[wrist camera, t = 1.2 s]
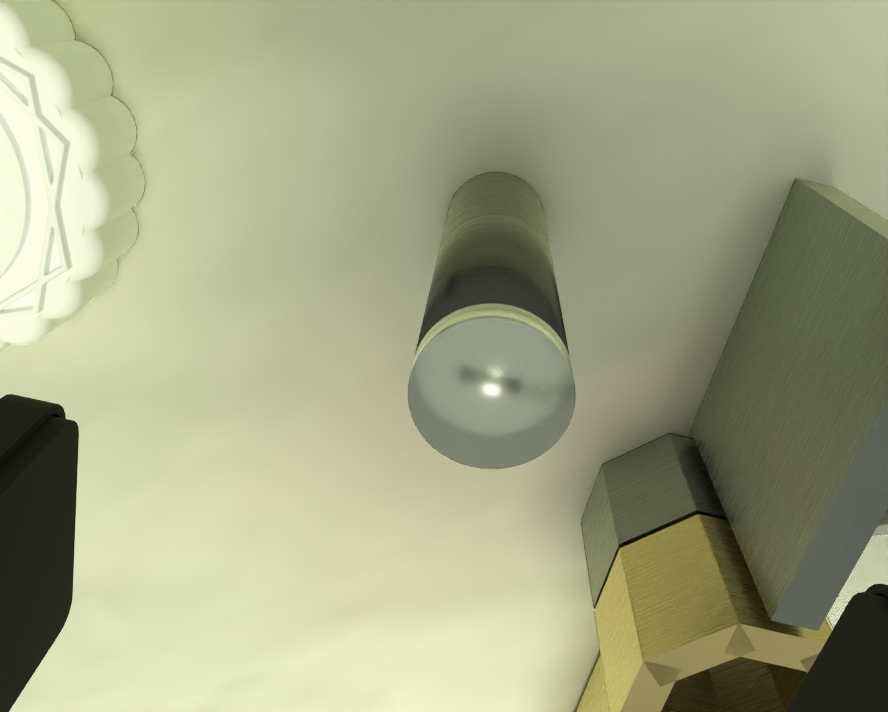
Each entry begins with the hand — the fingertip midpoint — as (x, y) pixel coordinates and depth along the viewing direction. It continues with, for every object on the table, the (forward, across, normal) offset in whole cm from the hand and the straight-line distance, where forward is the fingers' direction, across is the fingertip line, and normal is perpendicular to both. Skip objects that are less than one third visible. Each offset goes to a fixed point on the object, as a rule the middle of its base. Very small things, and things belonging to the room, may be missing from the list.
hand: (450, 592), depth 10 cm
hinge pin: (+17, -1, 0) cm, 17 cm away
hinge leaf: (+17, -10, +14) cm, 24 cm away
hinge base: (+17, -10, +4) cm, 20 cm away
